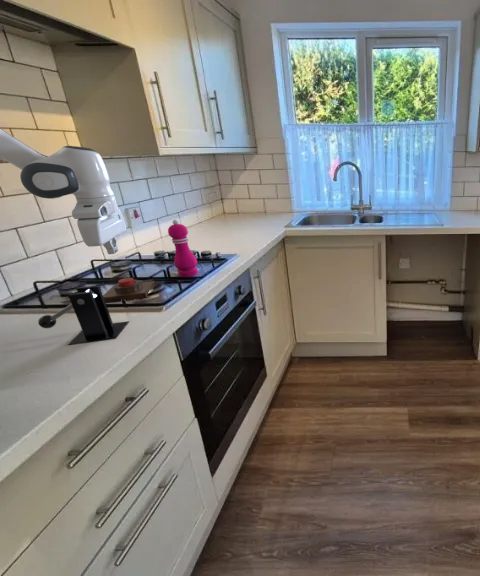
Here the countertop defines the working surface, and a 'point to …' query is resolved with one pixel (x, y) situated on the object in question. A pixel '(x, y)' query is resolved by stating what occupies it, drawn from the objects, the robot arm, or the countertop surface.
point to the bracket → (93, 317)
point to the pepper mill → (182, 250)
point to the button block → (128, 292)
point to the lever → (56, 315)
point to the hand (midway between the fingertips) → (113, 252)
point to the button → (126, 282)
